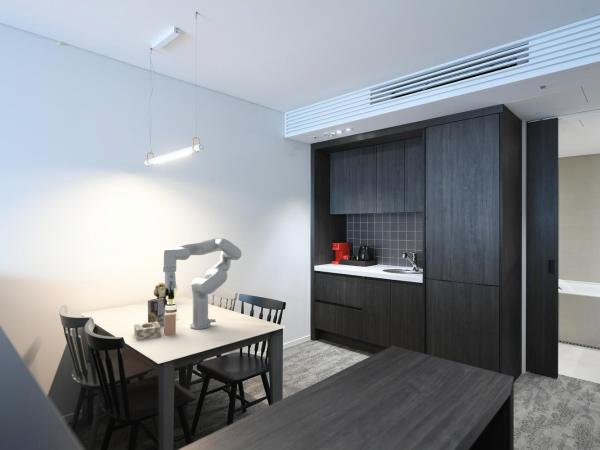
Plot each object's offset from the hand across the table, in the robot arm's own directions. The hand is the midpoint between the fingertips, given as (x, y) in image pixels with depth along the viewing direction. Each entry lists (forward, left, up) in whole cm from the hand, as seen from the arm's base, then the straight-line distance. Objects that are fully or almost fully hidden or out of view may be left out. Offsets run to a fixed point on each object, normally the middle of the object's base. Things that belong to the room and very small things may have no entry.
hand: (169, 297), depth 219 cm
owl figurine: (-8, -86, -22) cm, 89 cm away
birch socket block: (+12, -4, -22) cm, 25 cm away
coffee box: (+4, -24, -22) cm, 33 cm away
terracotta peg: (0, 0, -22) cm, 22 cm away
